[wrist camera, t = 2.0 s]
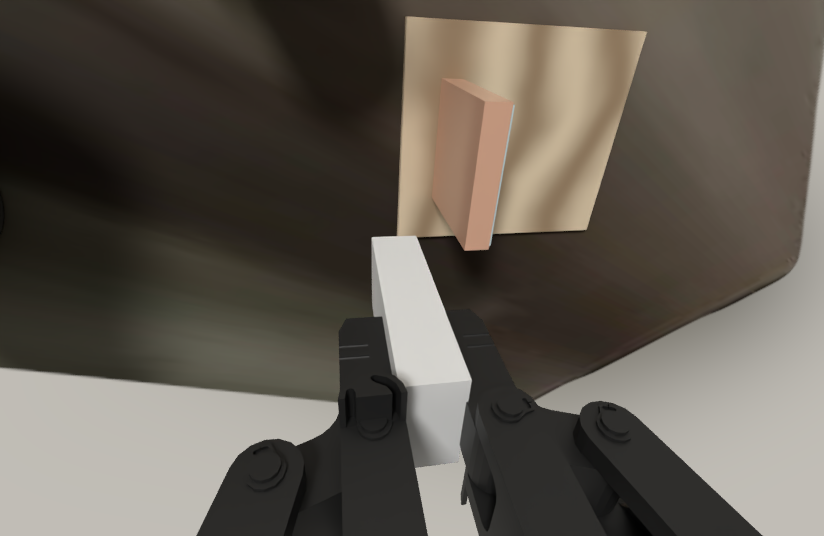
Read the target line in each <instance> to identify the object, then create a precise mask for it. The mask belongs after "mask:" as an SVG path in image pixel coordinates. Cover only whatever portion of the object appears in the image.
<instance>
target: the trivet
mask: <svg viewBox="0 0 824 536" xmlns="http://www.w3.org/2000/svg"><path fill="white" fill-rule="evenodd" d="M646 33H647V32H643V31H628V30H612V29H596V28H580V27H564V26H548V25H533V24H517V23H501V22H485V21H469V20H453V19H438V18H422V17H406V16H405V36H404V62H403V88H402V114H401V140H400V167H399V193H398V219H397V236H416V237H432V236H455V234H454V233H453V231H452V230H451V228H450V226H449V225H448V223H447V222H446V220H445V218H444V217H443V215H442V213H441V212H440V210H439V209H438V207H437V205H436V204H435V202H434V201H433V199H432V189H433V177H434V165H435V153H436V141H437V129H438V117H439V105H440V93H441V81H442V78H446V79H464V80H467V81H469V82H471V83H473V84H475V85H477V86H480V87H482V88H484V89H486V90H488V91H491V92H493V93H495V94H497V95H499V96H501V97H504V98H506V99H508V100H510V101H512V102H514V105H515V107H514V113H513V119H512V125H511V130H510V136H509V142H508V148H507V153H506V159H505V165H504V171H503V176H502V182H501V188H500V194H499V199H498V205H497V211H496V217H495V222H494V228H493V234H503V233H526V232H549V231H573V230H586V229H587V226H588V223H589V220H590V216H591V213H592V210H593V206H594V203H595V200H596V197H597V193H598V190H599V187H600V184H601V180H602V177H603V174H604V170H605V167H606V164H607V161H608V157H609V154H610V151H611V148H612V144H613V141H614V138H615V134H616V131H617V128H618V125H619V121H620V118H621V115H622V112H623V108H624V105H625V102H626V99H627V95H628V92H629V89H630V85H631V82H632V79H633V76H634V72H635V69H636V66H637V63H638V59H639V56H640V53H641V49H642V46H643V43H644V40H645V36H646Z"/></svg>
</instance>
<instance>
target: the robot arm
mask: <svg viewBox="0 0 824 536" xmlns="http://www.w3.org/2000/svg"><path fill="white" fill-rule="evenodd" d="M3 221H4V211H3V203H2V199H1V195H0V234H1V231H2V227H3ZM372 306H373V313H374V317H366V318H351V319H346V320H345V322H344V323H343V325H342V327H341V329H340V330H339V364H340V393H339V397H338V406H339V414H338V417H337V419H336V421H335V422H334V423H333V424H332V426H331V427H330V428H329V429H328V430H326V431H325V432H324V433H323V434H321V435H320V436H318V437H316V438H314V439H312V440H309V441H307V442H305V443H302V444H300V445H297V446H295V445H293V444H292V443H291V442H287V441H284V440H281V439H272V440H264V441H262V442H259V443H256V444H254V445H251V446H250V447H249V448H247V449H246V450H245V451H243V452H242V453H241V454H239V455H238V457H237V458H236V459H235V461H234V462H233V464H232V465H231V467H230V468H229V470H228V472H227V474H226V476H225V479H224V480H223V482H222V484H221V486H220V489H219V491H218V493H217V495H216V497H215V499H214V501H213V503H212V505H211V507H210V509H209V511H208V513H207V515H206V517H205V519H204V521H203V524H202V525H201V528H200V530H199V532H198V534H197V536H428V534H427V529H426V523H425V518H424V513H423V508H422V502H421V497H420V492H419V487H418V481H417V476H416V471H415V468H416V467H424V466H432V465H440V464H446V463H455V462H458V460H459V454H460V448H461V451H462V455H463V458H464V461H465V464H466V469H465V474H464V480H463V485H462V491H461V505H464V504H466V502H467V497H468V498H469V502H470V505H471V509H472V512H473V516H474V520H475V523H476V527H477V530H478V533H479V536H762V535H761V534H760V533H759V532H758V531H757V530H756V529H755V528H754V527H753V526H752V525H751V524H749V523H748V522H747V521H746V520H745V519H744V518H743V517H742V516H741V515H740V514H739V513H738V512H737V511H736V510H735V509H734V508H733V507H731V506H730V505H729V504H728V503H727V502H726V501H725V500H724V499H723V498H722V497H721V496H720V495H719V494H718V493H716V491H714V490H713V489H712V488H711V487H710V486H709V485H708V484H707V483H706V482H705V481H704V480H703V479H702V478H701V477H700V476H699V475H698V474H696V473H695V472H694V471H693V470H692V469H691V468H690V467H689V466H688V465H687V464H686V463H685V462H684V461H683V460H682V459H681V458H679V457H678V456H677V455H676V454H675V453H674V452H673V451H672V450H671V449H670V448H669V447H668V446H666V444H665V443H663V441H661V440H660V439H659V438H658V437H657V436H656V435H655V434H654V433H653V432H652V431H651V430H650V429H649V428H648V427H647V426H646V425H644V424H643V423H642V422H641V421H640V420H639V419H638V418H637V417H636V416H634V415H633V414H632V413H630V412H629V411H628V410H626V409H625V408H623V407H620V406H618V405H616V404H613V403H609V402H603V401H598V402H590V403H588V404H587V405H585V406H584V407H583V408H582V410H581V413H580V415H576V414H571V413H565V412H559V411H553V410H549V409H545V408H542V407H540V406H538V405H537V404H536V402H535V401H534V400H533V399H532V397H531V396H529V395H528V394H526V393H525V392H523V391H522V390H520V389H517V388H516V386H515V385H514V383H513V381H512V379H511V377H510V375H509V373H508V371H507V369H506V367H505V365H504V363H503V361H502V359H501V357H500V355H499V353H498V350H497V348H496V346H494V342H493V340H492V338H491V336H490V335H489V332H488V330H487V328H486V326H485V324H484V322H483V320H482V319H481V318H479V317H478V316H477V315H476V314H475V313H474V312H472V311H471V310H470V309H467V310H452V311H445V309H444V307H443V304H442V302H441V299H440V297H439V294H438V291H437V289H436V286H435V284H434V281H433V278H432V276H431V273H430V271H429V268H428V265H427V263H426V260H425V258H424V255H423V253H422V250H421V247H420V245H419V242H418V240H417V237H416V236H394V237H372Z"/></svg>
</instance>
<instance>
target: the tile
mask: <svg viewBox="0 0 824 536" xmlns="http://www.w3.org/2000/svg"><path fill="white" fill-rule="evenodd" d="M514 107H515V105H514V102H512V101H510V100H508V99H506V98H504V97H501V96H499V95H497V94H495V93H493V92H491V91H488V90H486V89H484V88H482V87H480V86H477V85H475V84H473V83H471V82H469V81H467V80H464V79H446V78H442V81H441V93H440V105H439V117H438V129H437V141H436V153H435V165H434V177H433V189H432V199H433V201H434V202H435V204H436V205H437V207H438V209H439V210H440V212H441V213H442V215H443V217H444V218H445V220H446V222H447V223H448V225H449V226H450V228H451V230H452V231H453V233H454V234H455V236H456V238H457V239H458V241H459V243H460V244H461V246H462V247H463V249H464V251H469V250H488V249H489V246H490V245H491V240H492V234H493V228H494V222H495V217H496V211H497V205H498V199H499V194H500V188H501V182H502V176H503V171H504V165H505V159H506V153H507V148H508V142H509V136H510V130H511V125H512V119H513V113H514Z"/></svg>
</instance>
